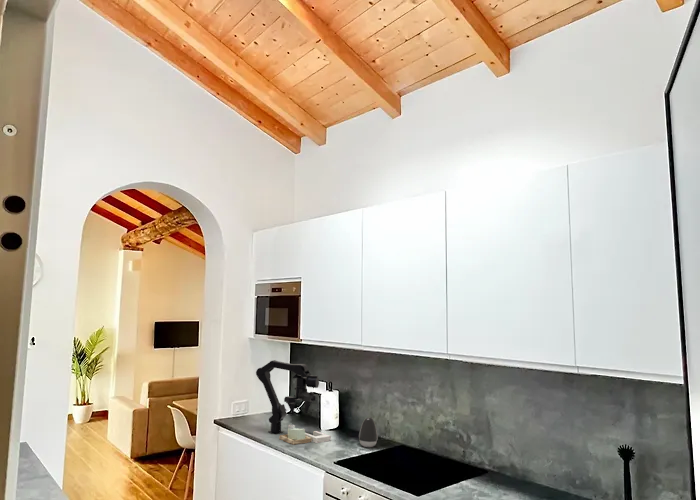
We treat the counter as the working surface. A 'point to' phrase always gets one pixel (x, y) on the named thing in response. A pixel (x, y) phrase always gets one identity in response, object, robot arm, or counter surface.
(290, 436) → the caddy
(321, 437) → the housing
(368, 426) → the egg shaped speaker
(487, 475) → the counter surface
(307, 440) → the tray
